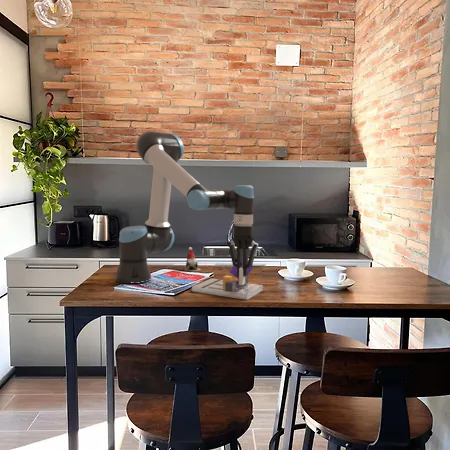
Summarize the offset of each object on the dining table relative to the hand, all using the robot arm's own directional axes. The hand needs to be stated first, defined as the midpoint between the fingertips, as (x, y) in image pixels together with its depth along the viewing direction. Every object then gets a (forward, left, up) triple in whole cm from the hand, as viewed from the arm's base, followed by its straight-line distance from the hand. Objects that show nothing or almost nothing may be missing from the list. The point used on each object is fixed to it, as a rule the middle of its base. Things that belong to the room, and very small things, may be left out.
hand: (242, 284), depth 169 cm
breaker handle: (-6, 0, -1) cm, 6 cm away
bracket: (-8, +12, 0) cm, 14 cm away
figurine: (-39, +27, -4) cm, 48 cm away
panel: (-6, 0, -4) cm, 7 cm away
